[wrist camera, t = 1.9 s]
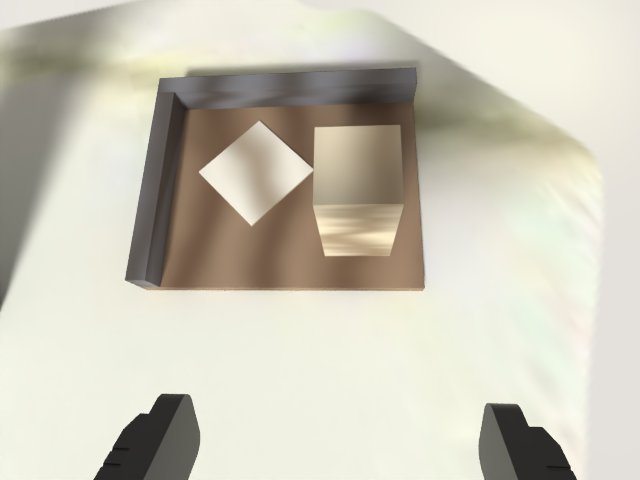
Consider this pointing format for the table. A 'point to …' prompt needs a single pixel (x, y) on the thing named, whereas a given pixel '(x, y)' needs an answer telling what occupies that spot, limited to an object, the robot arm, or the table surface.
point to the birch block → (358, 188)
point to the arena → (264, 183)
